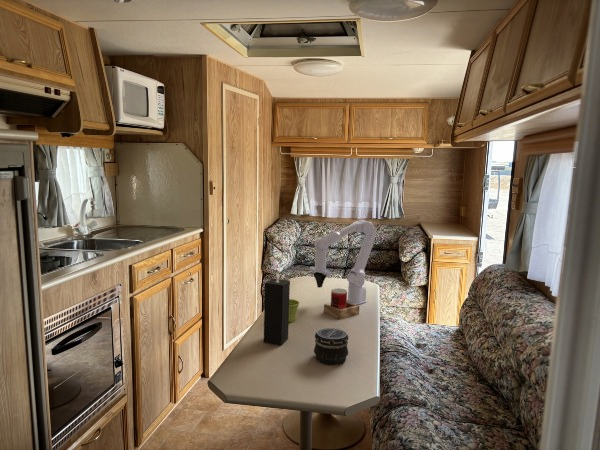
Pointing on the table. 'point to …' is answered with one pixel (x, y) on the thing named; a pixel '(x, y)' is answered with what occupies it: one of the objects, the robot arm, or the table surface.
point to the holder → (342, 310)
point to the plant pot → (292, 309)
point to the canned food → (339, 298)
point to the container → (331, 346)
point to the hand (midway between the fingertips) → (319, 287)
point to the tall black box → (276, 311)
